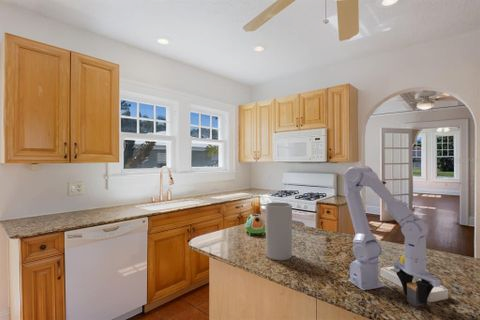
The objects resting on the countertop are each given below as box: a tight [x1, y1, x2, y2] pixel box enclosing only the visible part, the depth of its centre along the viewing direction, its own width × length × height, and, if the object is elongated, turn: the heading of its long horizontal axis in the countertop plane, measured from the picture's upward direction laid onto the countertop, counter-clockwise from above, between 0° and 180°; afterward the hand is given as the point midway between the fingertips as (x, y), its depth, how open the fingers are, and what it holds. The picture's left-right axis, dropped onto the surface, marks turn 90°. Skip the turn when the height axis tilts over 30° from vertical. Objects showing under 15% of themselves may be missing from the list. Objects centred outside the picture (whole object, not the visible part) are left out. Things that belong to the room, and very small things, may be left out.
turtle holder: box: [245, 213, 266, 237], centre depth 164 cm, size 12×18×12 cm
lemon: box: [399, 253, 405, 264], centre depth 105 cm, size 6×6×8 cm
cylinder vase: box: [265, 201, 293, 261], centre depth 124 cm, size 12×12×25 cm
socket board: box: [379, 265, 449, 303], centre depth 94 cm, size 20×8×4 cm, turn 16°
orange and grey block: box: [406, 282, 425, 307], centre depth 83 cm, size 3×3×6 cm
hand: (415, 298), depth 83 cm, fingers open, 5 cm apart
